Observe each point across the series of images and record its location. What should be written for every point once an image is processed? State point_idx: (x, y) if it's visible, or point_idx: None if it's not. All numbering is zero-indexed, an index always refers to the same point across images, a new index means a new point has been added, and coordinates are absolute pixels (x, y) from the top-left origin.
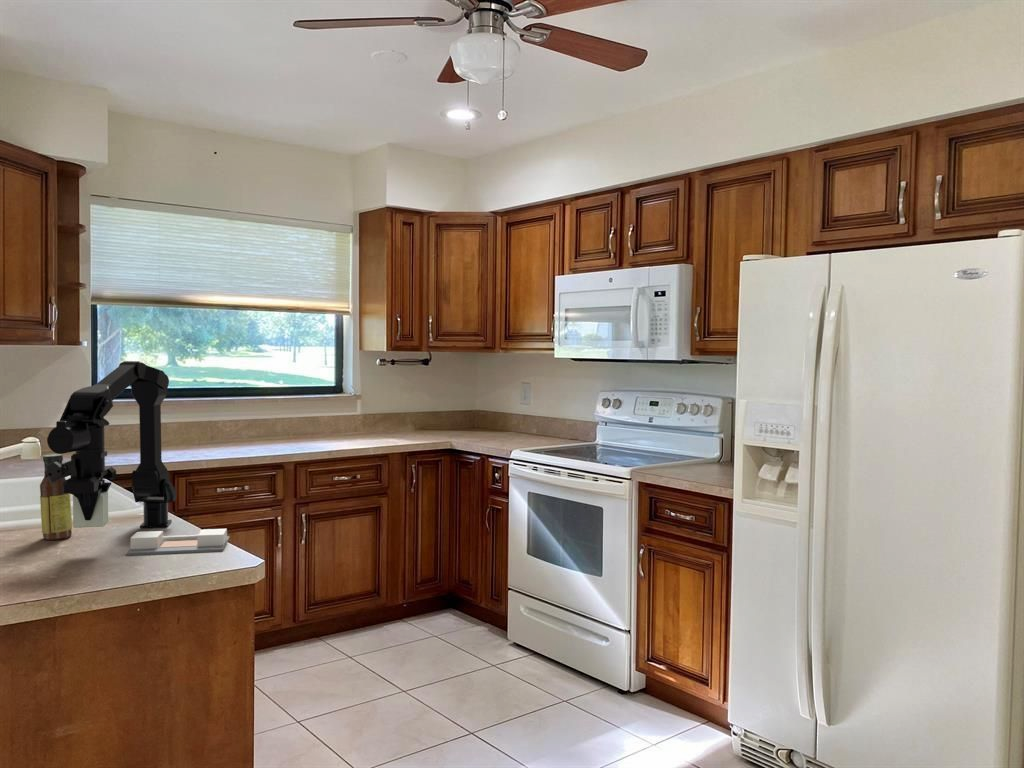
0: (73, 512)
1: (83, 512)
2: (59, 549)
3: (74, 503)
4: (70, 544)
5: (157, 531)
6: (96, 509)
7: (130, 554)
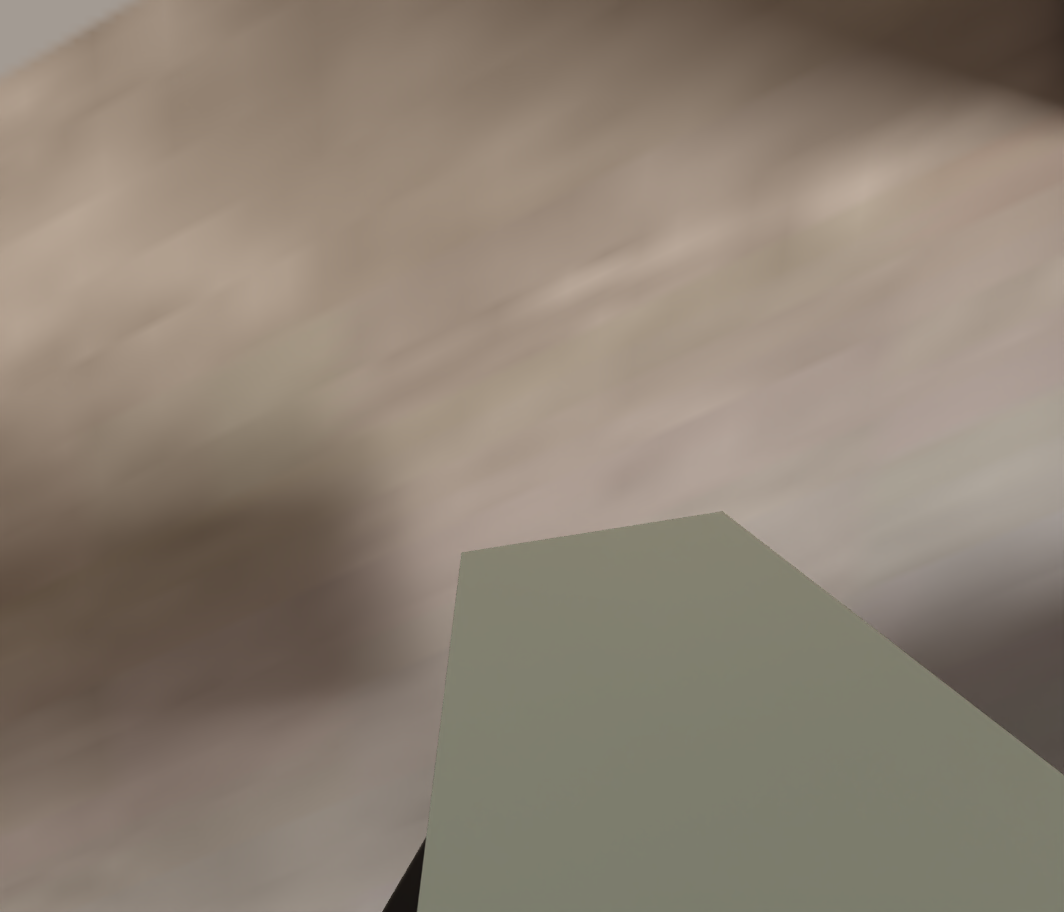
0: (451, 688)
1: (397, 907)
2: (706, 229)
3: (428, 910)
4: (884, 246)
5: None
6: None
7: None
